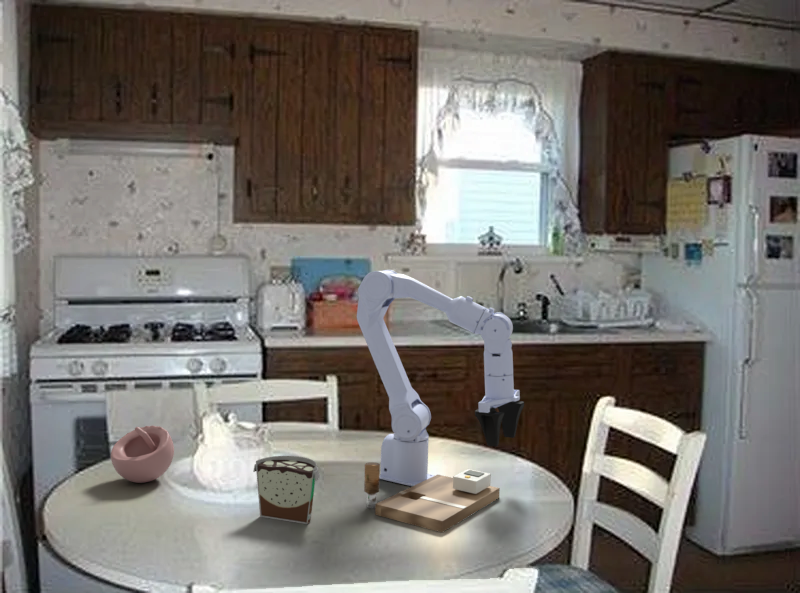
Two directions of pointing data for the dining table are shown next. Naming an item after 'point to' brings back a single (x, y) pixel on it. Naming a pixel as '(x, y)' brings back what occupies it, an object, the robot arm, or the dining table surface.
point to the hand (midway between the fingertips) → (501, 441)
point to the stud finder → (471, 481)
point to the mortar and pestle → (143, 454)
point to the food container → (286, 487)
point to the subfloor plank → (434, 504)
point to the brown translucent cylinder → (371, 482)
